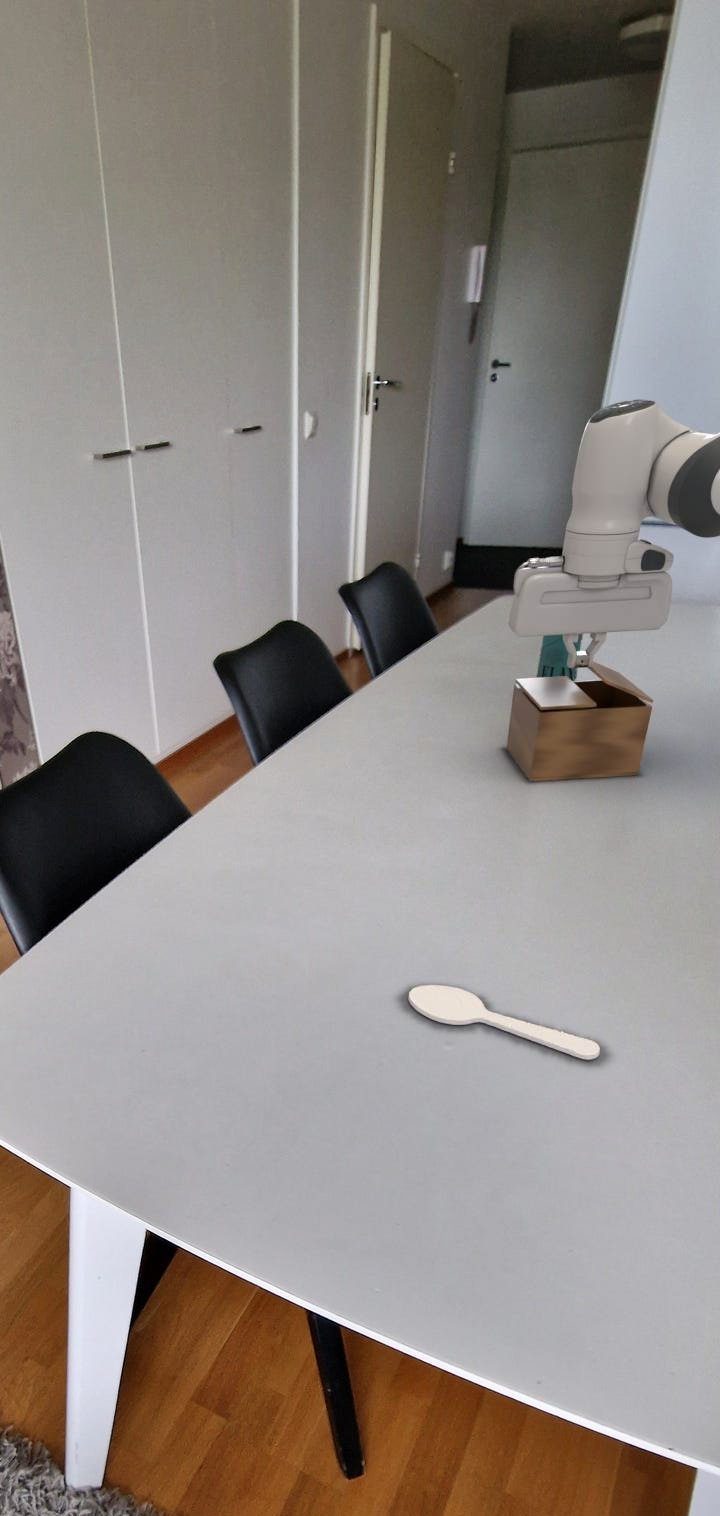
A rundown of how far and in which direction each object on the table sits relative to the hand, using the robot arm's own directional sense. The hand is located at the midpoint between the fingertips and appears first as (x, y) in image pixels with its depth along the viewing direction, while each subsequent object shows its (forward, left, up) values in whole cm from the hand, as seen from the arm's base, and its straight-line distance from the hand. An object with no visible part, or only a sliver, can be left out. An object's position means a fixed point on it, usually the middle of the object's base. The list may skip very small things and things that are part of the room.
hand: (579, 666), depth 126 cm
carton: (-1, -1, -13) cm, 13 cm away
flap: (-3, -4, -2) cm, 5 cm away
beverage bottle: (+18, -23, -14) cm, 32 cm away
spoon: (-35, +57, -13) cm, 68 cm away
